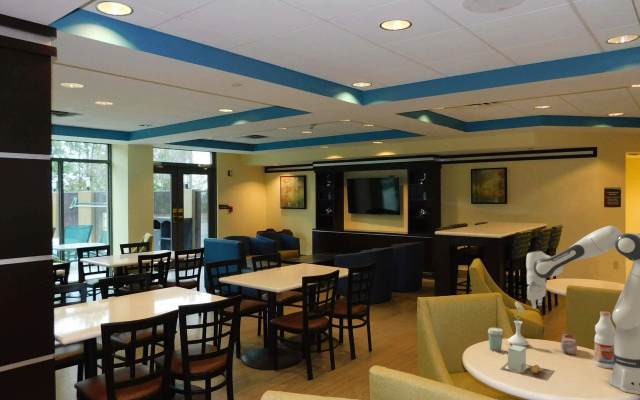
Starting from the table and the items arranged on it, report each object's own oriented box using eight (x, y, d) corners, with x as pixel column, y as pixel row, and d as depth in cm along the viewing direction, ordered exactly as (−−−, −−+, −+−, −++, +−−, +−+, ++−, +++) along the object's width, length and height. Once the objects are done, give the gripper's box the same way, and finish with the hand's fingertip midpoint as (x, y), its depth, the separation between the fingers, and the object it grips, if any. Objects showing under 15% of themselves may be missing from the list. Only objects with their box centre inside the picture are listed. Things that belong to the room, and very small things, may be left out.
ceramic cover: (525, 366, 235) (526, 347, 235) (521, 371, 229) (521, 351, 229) (512, 363, 239) (513, 344, 239) (507, 368, 233) (508, 348, 233)
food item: (577, 356, 254) (578, 338, 254) (561, 354, 257) (562, 336, 257) (574, 349, 267) (575, 332, 267) (559, 347, 270) (559, 330, 270)
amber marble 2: (540, 370, 230) (540, 364, 230) (539, 372, 228) (539, 366, 228) (534, 369, 232) (534, 363, 232) (532, 371, 230) (532, 365, 230)
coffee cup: (500, 353, 257) (501, 332, 257) (485, 350, 262) (485, 329, 262) (505, 349, 264) (505, 329, 264) (490, 346, 269) (490, 326, 269)
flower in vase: (530, 348, 266) (531, 305, 266) (509, 347, 268) (510, 304, 268) (525, 341, 279) (525, 300, 279) (505, 340, 281) (506, 299, 281)
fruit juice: (603, 361, 247) (604, 309, 246) (619, 367, 238) (620, 313, 237) (589, 363, 244) (590, 310, 244) (605, 369, 235) (606, 315, 235)
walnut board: (554, 372, 230) (554, 370, 230) (547, 382, 218) (547, 380, 218) (509, 362, 244) (509, 360, 244) (499, 371, 231) (499, 369, 231)
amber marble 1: (538, 373, 227) (538, 367, 227) (537, 374, 225) (537, 368, 225) (532, 371, 229) (532, 365, 229) (530, 373, 227) (530, 367, 227)
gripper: (536, 283, 239) (537, 310, 238) (547, 279, 254) (548, 304, 253) (523, 282, 243) (524, 309, 242) (535, 278, 258) (536, 303, 257)
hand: (537, 306), depth 248 cm, fingers open, 8 cm apart
